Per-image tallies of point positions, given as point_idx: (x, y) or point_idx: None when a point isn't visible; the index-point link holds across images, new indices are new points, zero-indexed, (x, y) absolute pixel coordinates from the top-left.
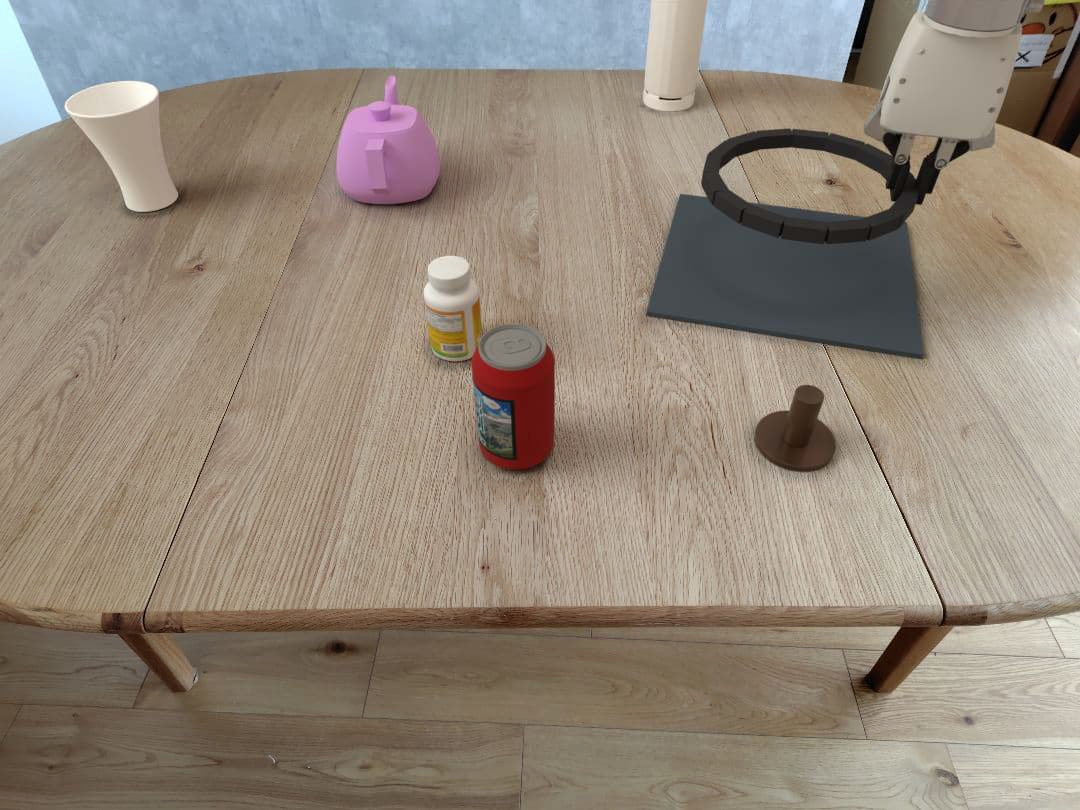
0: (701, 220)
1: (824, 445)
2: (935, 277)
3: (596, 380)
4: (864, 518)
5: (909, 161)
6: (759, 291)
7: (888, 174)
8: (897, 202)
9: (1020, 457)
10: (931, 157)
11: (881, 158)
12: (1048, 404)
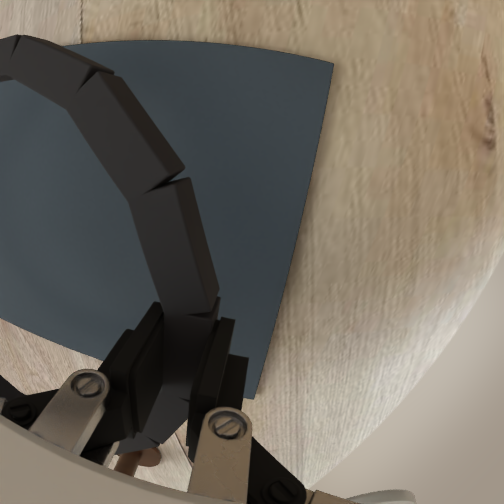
0: (4, 124)
1: (152, 459)
2: (337, 234)
3: (9, 377)
4: (179, 484)
5: (136, 411)
6: (70, 291)
7: (118, 341)
8: (149, 416)
9: (298, 467)
10: (190, 450)
11: (120, 188)
12: (354, 432)
